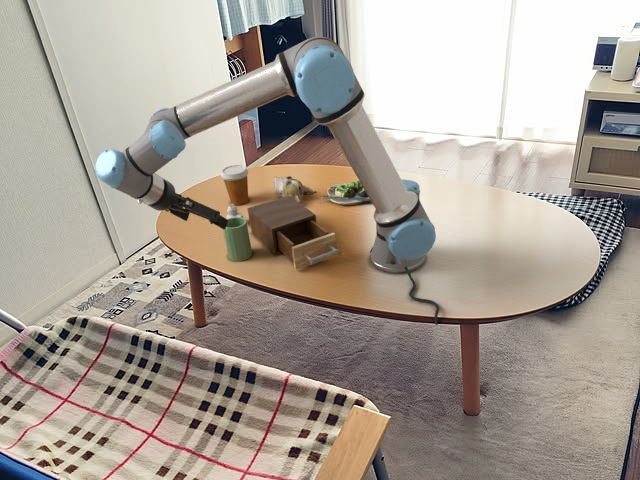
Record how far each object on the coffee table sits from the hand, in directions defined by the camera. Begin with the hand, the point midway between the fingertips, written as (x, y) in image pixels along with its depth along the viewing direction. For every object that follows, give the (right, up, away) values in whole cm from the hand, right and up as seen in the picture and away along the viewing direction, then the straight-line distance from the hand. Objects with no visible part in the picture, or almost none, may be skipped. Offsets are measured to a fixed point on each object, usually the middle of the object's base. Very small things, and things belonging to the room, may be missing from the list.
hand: (206, 220), depth 153 cm
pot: (+7, -8, +17) cm, 20 cm away
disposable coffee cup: (+2, +15, +48) cm, 51 cm away
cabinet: (+20, -1, +24) cm, 31 cm away
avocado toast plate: (+43, +16, +44) cm, 63 cm away
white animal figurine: (+3, +5, +34) cm, 34 cm away
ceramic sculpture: (+22, +16, +46) cm, 53 cm away
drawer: (+28, -8, +12) cm, 31 cm away
